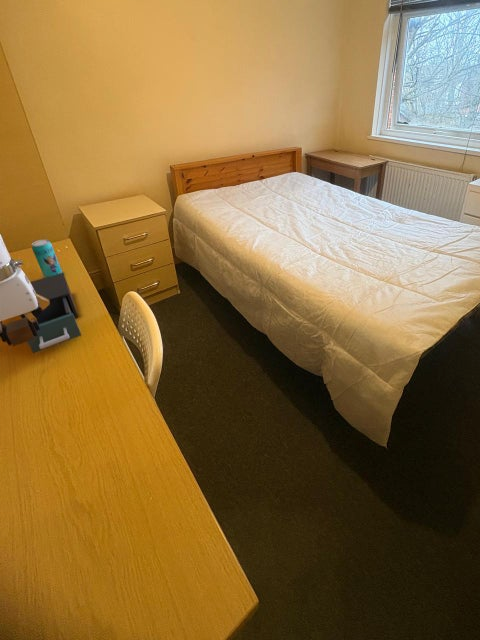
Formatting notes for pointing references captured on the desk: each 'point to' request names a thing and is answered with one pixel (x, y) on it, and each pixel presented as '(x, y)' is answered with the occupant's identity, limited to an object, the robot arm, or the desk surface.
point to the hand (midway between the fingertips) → (23, 336)
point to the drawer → (55, 326)
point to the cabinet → (54, 290)
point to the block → (19, 331)
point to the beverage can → (46, 258)
